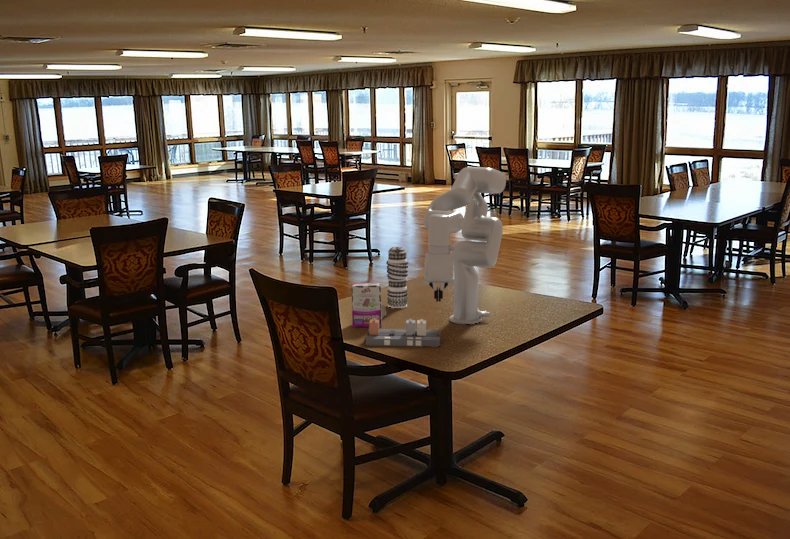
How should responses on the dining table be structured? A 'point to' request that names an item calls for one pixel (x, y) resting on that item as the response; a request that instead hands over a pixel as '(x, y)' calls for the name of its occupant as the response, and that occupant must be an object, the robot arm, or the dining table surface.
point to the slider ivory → (421, 327)
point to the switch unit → (403, 338)
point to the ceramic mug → (383, 310)
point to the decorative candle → (397, 277)
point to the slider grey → (410, 327)
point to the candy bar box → (366, 303)
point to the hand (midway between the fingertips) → (438, 300)
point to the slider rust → (374, 327)
